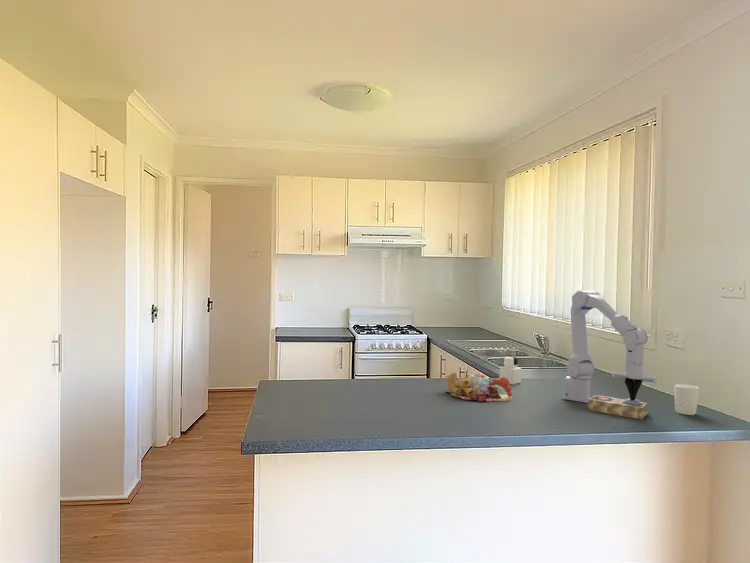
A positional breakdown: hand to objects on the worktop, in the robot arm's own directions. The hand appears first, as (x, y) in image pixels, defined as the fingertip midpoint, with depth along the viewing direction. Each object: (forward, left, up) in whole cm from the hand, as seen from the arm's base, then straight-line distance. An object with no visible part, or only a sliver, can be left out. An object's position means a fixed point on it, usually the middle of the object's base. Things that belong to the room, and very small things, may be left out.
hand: (632, 400), depth 188 cm
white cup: (+15, +18, -6) cm, 24 cm away
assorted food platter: (-55, -13, -6) cm, 57 cm away
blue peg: (0, 0, -4) cm, 4 cm away
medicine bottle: (-55, +22, -6) cm, 59 cm away
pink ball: (-10, 0, -5) cm, 11 cm away
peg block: (-5, 0, -5) cm, 7 cm away
